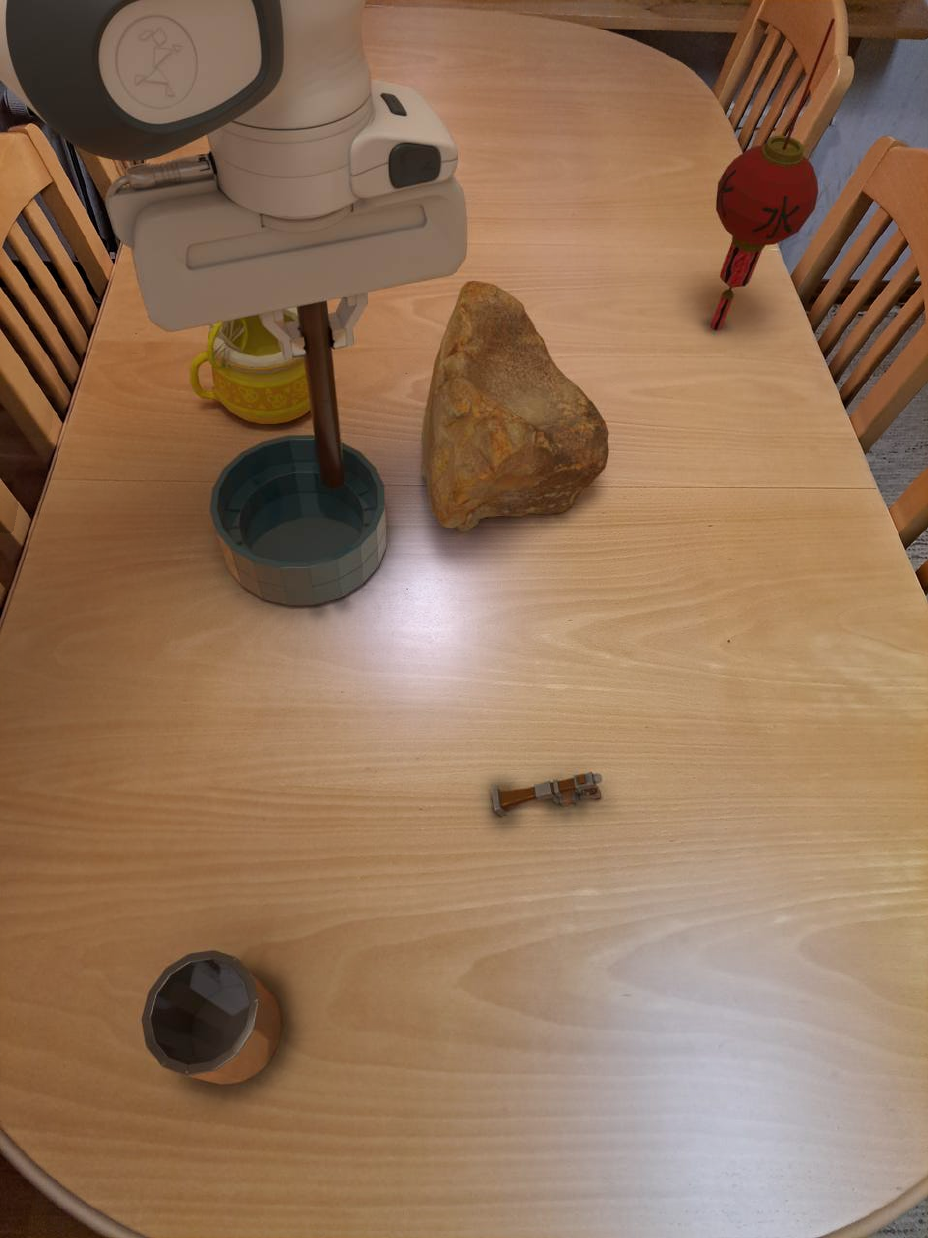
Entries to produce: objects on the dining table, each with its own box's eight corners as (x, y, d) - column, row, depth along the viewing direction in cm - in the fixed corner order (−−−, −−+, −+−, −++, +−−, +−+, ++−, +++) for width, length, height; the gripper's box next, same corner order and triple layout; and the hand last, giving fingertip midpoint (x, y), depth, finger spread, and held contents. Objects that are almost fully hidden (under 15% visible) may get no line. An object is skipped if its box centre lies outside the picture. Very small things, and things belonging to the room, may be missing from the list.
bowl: (246, 629, 68) (233, 588, 63) (208, 503, 75) (193, 457, 70) (408, 582, 72) (408, 539, 67) (358, 465, 78) (354, 419, 73)
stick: (324, 491, 67) (299, 303, 52) (317, 473, 68) (290, 283, 53) (348, 485, 68) (329, 296, 52) (341, 467, 69) (320, 277, 53)
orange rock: (591, 593, 73) (647, 476, 61) (405, 568, 72) (423, 443, 59) (585, 412, 86) (629, 285, 74) (427, 387, 85) (445, 254, 72)
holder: (197, 1102, 51) (154, 1095, 42) (176, 999, 53) (132, 974, 45) (293, 1061, 52) (270, 1047, 44) (268, 964, 55) (242, 933, 46)
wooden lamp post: (614, 804, 61) (601, 785, 57) (512, 825, 63) (493, 809, 59) (610, 780, 62) (596, 761, 58) (509, 803, 64) (490, 785, 60)
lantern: (680, 353, 89) (789, 43, 64) (668, 297, 94) (764, -11, 69) (766, 356, 90) (907, 50, 65) (749, 300, 95) (874, -4, 70)
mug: (308, 346, 87) (295, 241, 77) (341, 417, 82) (331, 315, 71) (186, 373, 84) (155, 268, 73) (212, 449, 78) (182, 347, 68)
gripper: (104, 206, 41) (172, 413, 53) (485, 144, 46) (470, 346, 57) (85, 139, 44) (154, 349, 56) (444, 87, 49) (438, 290, 60)
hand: (317, 347), depth 57 cm, fingers closed on stick, 2 cm apart
